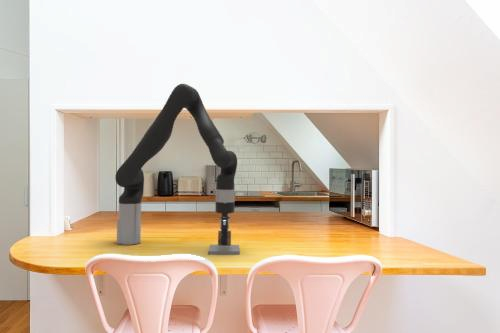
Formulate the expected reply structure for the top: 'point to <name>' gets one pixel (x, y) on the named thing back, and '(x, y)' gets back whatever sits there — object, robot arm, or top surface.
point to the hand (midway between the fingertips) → (224, 243)
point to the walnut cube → (227, 239)
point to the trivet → (224, 249)
